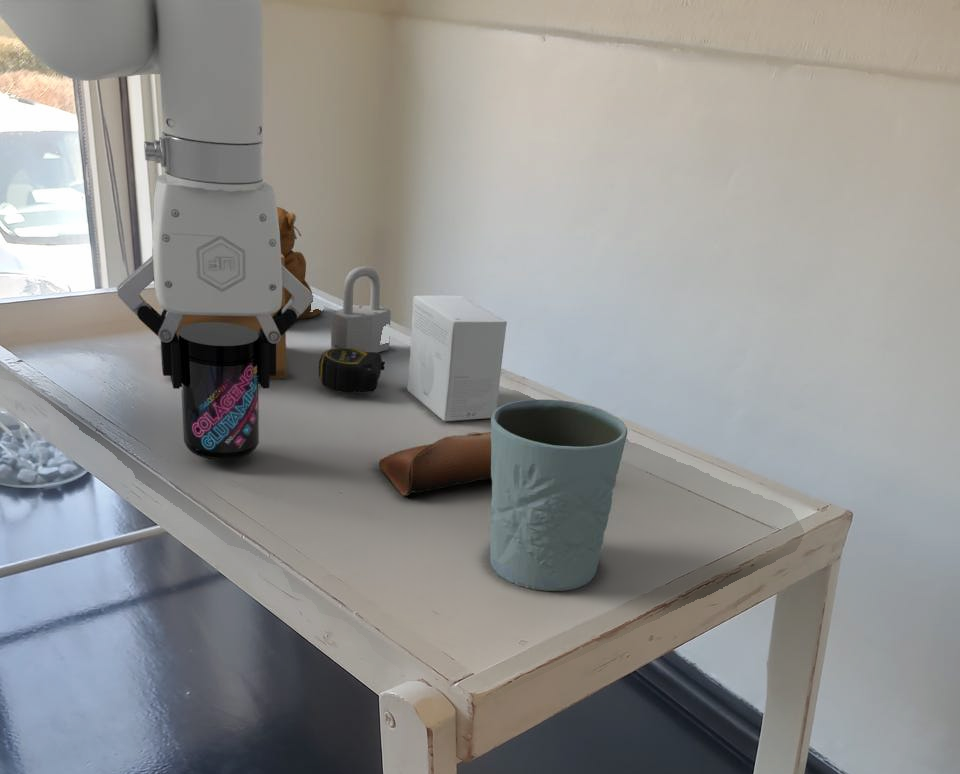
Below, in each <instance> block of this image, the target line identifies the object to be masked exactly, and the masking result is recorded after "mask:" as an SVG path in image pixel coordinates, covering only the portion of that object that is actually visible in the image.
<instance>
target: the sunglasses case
mask: <svg viewBox="0 0 960 774" xmlns="http://www.w3.org/2000/svg"><path fill="white" fill-rule="evenodd" d="M378 467H379V468H380V469H381V471H382V473H383V474H384V476H385V477H386V479H387V480H388V482H390V483H391V484H392V486H393V487H394V488H395V489H396V491H397V492H398V493H399V494H400V495H401V496H402V497H407V496H409V495H411V494H412V493H415V494H418V493H424V492H426V491H427V492H428V491H435V490H439V489H442V488H450V487H454V486H456V485H458V484H459V485H461V484H462V485H464V484H468V483H472V482H475V481H479V480H484V481H486V480H492V478H491V431H486V432H485V431H484V432H477V431H476V432H474V431H473V432H468V434H464V435H462V434H461V435H449V436H444V437H442V438H440V439H438V440H437V441H434V442H432V443H429V444H422V445H419V446H418V445H417V446H413V447H409V448H405V449H402V450H399V451H395V452H394V453H390V454H388V455H387V456H384V457H382V458H380V459H379V462H378Z"/></svg>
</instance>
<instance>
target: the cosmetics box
mask: <svg viewBox="0 0 960 774" xmlns="http://www.w3.org/2000/svg"><path fill="white" fill-rule="evenodd" d="M507 324H508V321H507V320H505V319H504V318H501V317H500V316H498V315H497V314H495V313H493V312H491V311H490V310H488V309H486V308H485V307H483V306H481V305H480V304H479V303H477V302H474V301H473V300H471V299H470V298H468V297H466V296H465V295H414V296H413V298H412V321H411V337H410V351H409V352H410V353H409V365H408V366H409V367H408V377H407V378H408V379H407V387H406V390H407V392H409V393H410V394H411V395H412V396H414V398H416V399H417V400H418V401H419V402H420V403H422V404H423V405H424V406H425V407H427V409H429V410H430V411H432V412H433V413H434V415H436V416H437V417H439V418H440V419H441V420H442V421H443V422H454V421H456V422H457V421H467V420H483V419H491V417H492V415H493V412H494V411H495V410H496V409H497V408H498V400H499V399H498V398H499V390H500V381H501V372H502V366H503V365H502V363H503V357H504V356H503V355H504V346H505V340H506V331H507Z"/></svg>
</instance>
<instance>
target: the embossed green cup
mask: <svg viewBox="0 0 960 774" xmlns="http://www.w3.org/2000/svg"><path fill="white" fill-rule="evenodd" d="M490 432H491V478H492V479H491V503H490V507H491V515H492V518H491V523H490V525H489V560H490V564H491V567H492V569H493V570H494V572H495V573H496V574H497V575H498V576H499V577H500V578H502V579H504V580H506V581H507V582H509V583H511V584H515V585H516V586H519V587H525V588H526V589H531V590H535V591H544V592H545V591H546V592H559V591H560V592H565V591H571V590H576V589H579V588H581V587H584V586H586V585H587V584H589V583H590V582H591V581H592V580H593V578H594V577H595V575H596V573H597V569H598V565H599V561H600V557H601V552H602V549H603V545H604V538H605V531H606V529H607V526H608V522H609V518H610V517H609V516H610V513H611V510H612V506H613V491H614V490H613V489H614V488H615V486H616V483H617V475H618V473H619V469H620V465H621V461H622V458H623V453H624V450H625V445H626V442H627V441H626V440H627V438H628V428H627V426H626V424H625V422H624V421H623V420H622V419H620V418H619V417H617V416H615V415H614V414H611V413H610V412H608V411H606V410H604V409H602V408H599V407H597V406H593V405H589V404H585V403H581V402H580V403H579V402H576V401H575V402H574V401H569V400H561V399H560V400H559V399H524V400H518V401H517V400H516V401H512V402H509V403H506V404H503V405H500V406H499V407H497V409H496V410H495V411H494V412H493V415H492V417H491V418H490Z"/></svg>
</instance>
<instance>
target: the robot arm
mask: <svg viewBox="0 0 960 774" xmlns="http://www.w3.org/2000/svg"><path fill="white" fill-rule="evenodd" d="M0 18H1V19H2V20H3V21H4V23H5V24H6V25H7V26H8V28H9V29H10V30H11V31H12V32H13V34H14V35H15V36H16V37H17V38H18V40H19V41H20V42H21V43H22V44H23V45H24V46H25V47H26V48H27V49H28V50H29V52H31V54H33V55H34V56H35V57H36V58H37V59H38V60H39V61H40V62H41V63H43V64H44V65H46V66H47V67H48V68H49V69H51V70H53V71H54V72H56V73H58V74H59V75H62V76H64V77H66V78H70V79H73V80H77V81H82V82H83V81H85V82H87V81H88V82H89V81H100V80H101V81H102V80H106V79H113V78H128V77H133V76H146V75H159V78H160V97H161V99H160V100H161V113H162V114H161V117H162V132H161V134H162V136H161V137H160V136H159V137H158V140H157V139H154V140H153V141H147V140H145V141H144V142H143V149H144V151H143V152H144V160H145V161H148V162H149V161H150V162H155V164H160V166H161V167H162V168H164V174H163V173H162V174H160V175H157V177H156V182H155V187H154V188H155V190H154V196H153V214H152V228H151V229H152V233H151V234H152V235H151V238H152V239H151V248H152V249H151V250H152V251H151V254H152V255H151V256H150V257H149V258H148V259H146V260H145V262H143V263H142V264H141V265H140V266H139V267H137V269H135V270H134V271H133V272H131V274H129V275H128V277H126V278H125V279H124V280H122V281H121V282H120V283H119V284H118V285H117V287H116V293H117V296H118V298H119V299H120V300H121V301H122V302H123V303H124V305H126V306H127V307H128V309H130V310H131V312H132V313H134V314H135V315H136V316H137V317H138V320H140V321H141V322H142V323H143V324H144V326H146V327H147V328H148V329H149V330H151V332H153V333H154V335H156V336H157V337H158V339H159V340H160V353H161V355H160V356H161V370H162V375H163V377H170V381H171V384H172V388H173V389H174V390H176V389H177V390H178V389H180V390H181V387H182V375H181V353H180V343H179V340H178V336H177V335H176V331H177V329H178V326H179V324H180V322H181V320H182V318H183V316H184V315H215V316H256V318H257V320H258V322H259V324H260V326H261V328H260V329H259V333H258V335H259V357H258V361H259V385H260V387H261V388H263V389H270V386H271V384H270V383H271V382H270V381H271V379H270V376H276V343H278V342H279V341H280V339H281V336H282V335H283V334H284V333H285V332H286V333H287V332H288V330H289V329H291V328H292V326H294V325H295V323H297V321H298V319H297V318H298V317H299V316H300V315H301V314H302V313H303V312H304V311H305V310H306V309H307V308H308V306H309V305H310V304H311V303H312V302H313V297H314V294H313V293H312V294H313V295H312V294H311V292H310V291H309V290H308V289H307V288H306V287H305V286H304V285H303V284H302V283H301V282H300V281H299V280H297V279H296V278H295V277H294V276H293V275H292V274H291V273H290V272H289V271H288V270H287V269H286V268H285V267H284V266H282V265H281V246H280V232H279V222H278V213H277V207H278V206H277V200H276V195H275V189H274V187H273V186H272V185H271V184H269V183H268V182H266V181H264V55H263V54H264V44H263V43H264V42H263V41H264V40H263V39H264V30H263V28H264V25H263V24H264V23H263V21H264V20H263V19H264V18H263V6H262V0H0ZM151 283H153V285H154V291H155V296H156V299H157V302H158V304H159V306H160V307H161V310H160V311H161V312H160V313H159V312H158V311H157V310H156V309H155V308H154V307H152V305H150V304H149V303H148V302H147V301H146V300H145V299H144V298H143V296H142V295H141V292H143V290H145V289H146V288H147V287H148V286H149V285H150V284H151ZM282 286H283V287H284V288H285V289H286V290H287V291H288V292H289V293H290V294H291V299H290V300H289V301H288V303H287V304H286V305H285V306H283V307H282V308H281V309H280V307H281V303H282ZM162 308H163V309H162ZM279 309H280V310H279ZM278 310H279V311H278ZM277 311H278V312H277ZM275 312H277V313H276V314H275V315H274V316H273V317H272V316H271V314H273V313H275Z"/></svg>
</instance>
